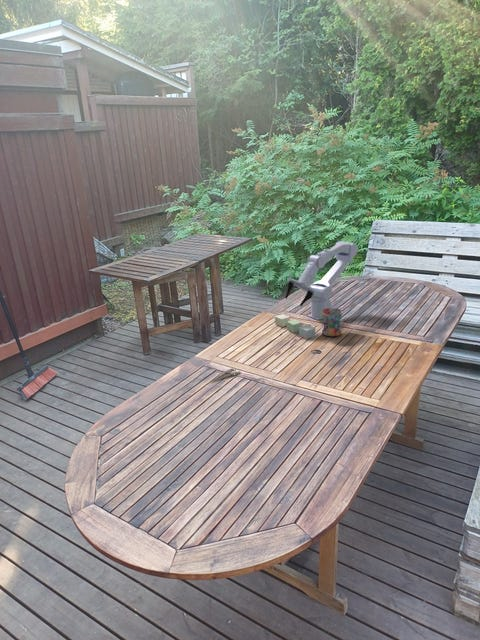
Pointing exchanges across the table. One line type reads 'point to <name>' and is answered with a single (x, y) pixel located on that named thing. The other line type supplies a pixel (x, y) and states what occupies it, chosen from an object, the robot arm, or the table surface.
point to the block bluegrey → (307, 331)
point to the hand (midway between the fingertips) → (293, 301)
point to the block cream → (281, 320)
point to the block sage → (293, 325)
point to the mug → (331, 321)
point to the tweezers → (225, 376)
